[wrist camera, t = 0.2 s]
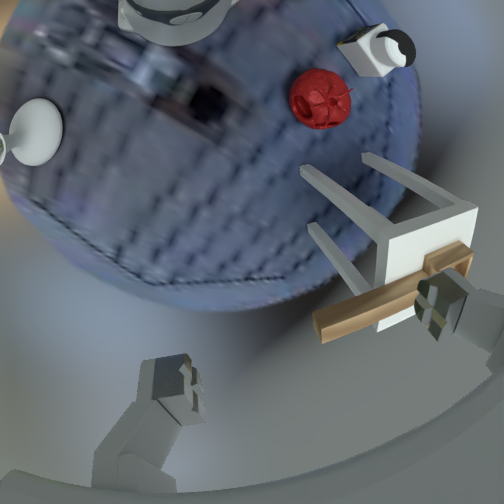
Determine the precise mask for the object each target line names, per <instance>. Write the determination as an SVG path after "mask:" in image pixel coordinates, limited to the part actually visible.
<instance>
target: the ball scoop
mask: <svg viewBox="0 0 504 504" xmlns="http://www.w3.org/2000/svg"><path fill="white" fill-rule="evenodd" d="M473 254H474V252H473V251H472V250H471V249H470V248H469V247H468V246H466V245H465V244H464V243H463V242H461V241H460V240H458V241H456V242H454V243H452V244H449V245H447V246H445V247H442V248H440V249H438V250H436V251H433V252H431V253H429V254H426V255H425V256H424V261H423V266H422V269H421V270H419V271H417V272H414V273H412V274H410V275H408V276H405V277H403V278H401V279H398V280H396V281H393V282H391V283H388V284H386V285H384V286H381V287H379V288H376V289H374V290H371V291H369V292H366V293H363V294H361V295H358V296H356V297H353V298H350V299H348V300H345V301H342V302H339V303H337V304H334V305H331V306H328V307H325V308H323V309H320V310H317V311H314V312H312V314H313V326H314V329H315V331H316V333H317V335H318V337H319V339H320V341H321V343H322V344H323V343H325V342H328V341H331V340H334V339H336V338H339V337H342V336H344V335H347V334H349V333H352V332H354V331H357V330H359V329H361V328H364V327H366V326H369V325H371V324H373V323H376V322H378V321H380V320H383V319H385V318H387V317H389V316H392V315H394V314H396V313H398V312H400V311H402V310H405V309H407V308H409V307H411V306H413V305H414V302H415V298H416V297H417V295H418V294H419V292H418V291H417V286H418V283H419V281H420V280H422V279H424V278H426V277H429V276H431V275H433V274H435V273H437V272H440V271H442V270H444V269H446V268H448V267H450V268H453V269H455V270H456V271H457V272H458V273H459V274H461V275H462V276H463V277H464V278H465V279H466V278H467V275H468V272H469V268H470V265H471V262H472V258H473Z"/></svg>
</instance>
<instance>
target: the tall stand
mask: <svg viewBox="0 0 504 504" xmlns="http://www.w3.org/2000/svg"><path fill="white" fill-rule="evenodd" d="M361 155H362V163H364V164H366V165H368V166H370V167H372V168H374V169H376V170H378V171H380V172H381V173H383V174H385V175H387V176H389V177H390V178H392V179H394V180H396V181H397V182H399V183H401V184H403V185H404V186H406V187H408V188H409V189H411V190H413V191H414V192H416V193H418V194H420V195H421V196H423V197H424V198H426V199H428V200H429V201H431V202H432V203H434V204H435V205H437V206H438V207H440V208H441V210H437V211H434V212H432V213H428V214H425V215H423V216H420V217H416V218H413V219H410V220H407V221H404V222H401V223H398V224H395V225H394V224H393V223H392V222H390V221H389V220H388V219H387V218H385V217H384V216H383V215H382V214H380V213H379V212H378V211H376V210H375V209H374V208H373V207H371V206H370V207H368V206H367V205H366V204H364V203H363V202H362V201H361V200H359V199H358V198H357V197H355V196H354V195H352V194H351V193H350V192H348V191H347V190H346V189H344V188H343V187H342V186H340V185H339V184H337V183H336V182H334V181H333V180H332V179H330V178H329V177H327V176H326V175H324V174H323V173H322V172H320V171H319V170H317V169H316V168H314V167H313V166H311V165H310V164H306V165H302V166H299V168H300V175H301V176H302V177H303V178H304V179H305V180H306V181H308V182H309V183H310V184H311V185H312V186H314V187H315V188H316V189H317V190H318V191H320V192H321V193H322V194H323V195H324V196H325V197H327V198H328V199H329V200H330V201H331V202H332V203H333V204H335V205H336V206H337V207H338V208H339V209H340V210H341V211H343V212H344V213H345V214H346V215H347V216H348V217H349V218H350V219H351V220H352V221H354V222H355V223H356V224H357V225H358V226H359V227H360V228H361V229H362V230H363V231H364V232H365V233H366V234H368V235H369V236H370V237H371V238H372V239H373V240H374V241H375V242H376V243H377V244H378V246H377V261H376V273H375V284H374V289H376V288H379V287H381V286H384V285H386V284H388V283H391V282H393V281H396V280H398V279H401V278H403V277H405V276H408V275H410V274H412V273H414V272H417V271H419V270H421V269H422V266H423V261H424V256H425V255H426V254H429V253H431V252H433V251H436V250H438V249H440V248H442V247H445V246H447V245H449V244H452V243H454V242H456V241H458V240H460V241H461V242H463V243H464V244H465V245H466V246H468V247H469V248H470V244H471V240H472V236H473V232H474V226H475V222H476V217H477V211H478V207H477V206H475V205H474V204H472V203H471V202H469V201H468V200H467V201H462V200H460V199H459V198H457V197H455V196H454V195H452V194H451V193H449V192H447V191H445V190H443V189H442V188H440V187H438V186H437V185H435V184H433V183H431V182H429V181H428V180H425V179H424V178H422V177H420V176H418V175H416V174H414V173H413V172H411V171H409V170H407V169H405V168H403V167H401V166H399V165H397V164H395V163H392V162H390V161H388V160H386V159H384V158H382V157H380V156H377V155H375V154H373V153H371V152H366V153H361ZM307 226H308V233H309V234H310V235H311V237H312V238H313V239H314V240H315V242H316V243H317V244H318V246H319V247H320V248H321V250H322V251H323V252H324V253H325V255H326V256H327V257H328V259H329V260H330V261H331V263H332V264H333V266H334V267H335V268H336V270H337V271H338V272H339V274H340V275H341V276H342V277H343V279H344V280H345V282H346V283H347V284H348V286H349V287H350V289H351V290H352V291H353V293H354V294H355V296H358V295H361V294H363V293H366V292H369V291H371V290H373V289H372V288H371V287H370V286H369V284H368V283H367V282H366V281H365V279H364V278H363V277H362V276H361V274H360V273H359V272H358V271H357V269H356V268H355V267H354V266H353V264H352V263H351V262H350V261H349V260H348V258H347V257H346V256H345V255H344V254H343V252H342V251H341V250H340V249H339V248H338V247H337V245H336V244H335V243H334V242H333V241H332V240H331V238H330V237H329V236H328V235H327V234H326V233H325V231H324V230H323V229H322V228H321V227H320V226H319V225H318V224H317V222H313V223H310V224H307ZM413 315H415V310H414V305H413V306H411V307H409V308H407V309H405V310H402V311H400V312H398V313H396V314H394V315H392V316H389V317H387V318H385V319H383V320H380V321H378V322H376V323H373V324H372V325H373V327H374V328H375V330H376V331H377V332H378V331H381V330H383V329H385V328H387V327H389V326H392V325H394V324H396V323H398V322H400V321H402V320H404V319H406V318H408V317H411V316H413Z"/></svg>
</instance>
